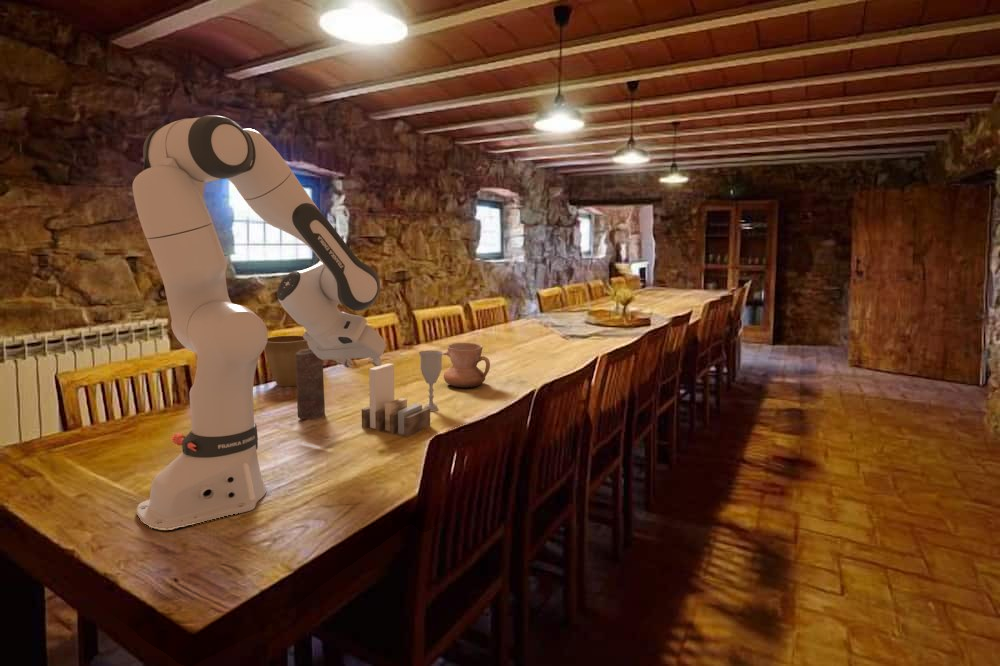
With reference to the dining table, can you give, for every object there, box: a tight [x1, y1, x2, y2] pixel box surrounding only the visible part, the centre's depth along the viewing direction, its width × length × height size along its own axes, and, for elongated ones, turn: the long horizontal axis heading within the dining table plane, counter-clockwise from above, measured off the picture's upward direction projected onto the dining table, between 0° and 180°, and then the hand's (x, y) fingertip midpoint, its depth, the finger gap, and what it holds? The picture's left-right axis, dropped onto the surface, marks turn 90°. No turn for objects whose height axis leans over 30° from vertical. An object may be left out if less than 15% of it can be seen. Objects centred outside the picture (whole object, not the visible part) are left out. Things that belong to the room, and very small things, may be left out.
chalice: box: [418, 349, 444, 412], centre depth 174 cm, size 7×7×18 cm
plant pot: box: [264, 335, 310, 388], centre depth 202 cm, size 15×15×16 cm
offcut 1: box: [385, 397, 408, 431], centre depth 158 cm, size 7×2×7 cm, turn 153°
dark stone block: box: [296, 348, 326, 420], centre depth 165 cm, size 8×7×20 cm
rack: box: [361, 405, 431, 438], centre depth 158 cm, size 10×15×6 cm, turn 63°
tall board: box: [368, 363, 395, 429], centre depth 159 cm, size 8×2×16 cm, turn 153°
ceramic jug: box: [442, 342, 491, 389], centre depth 206 cm, size 18×14×14 cm
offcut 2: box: [398, 403, 423, 435], centre depth 156 cm, size 8×2×6 cm, turn 153°
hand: (364, 364), depth 147 cm, fingers open, 8 cm apart
